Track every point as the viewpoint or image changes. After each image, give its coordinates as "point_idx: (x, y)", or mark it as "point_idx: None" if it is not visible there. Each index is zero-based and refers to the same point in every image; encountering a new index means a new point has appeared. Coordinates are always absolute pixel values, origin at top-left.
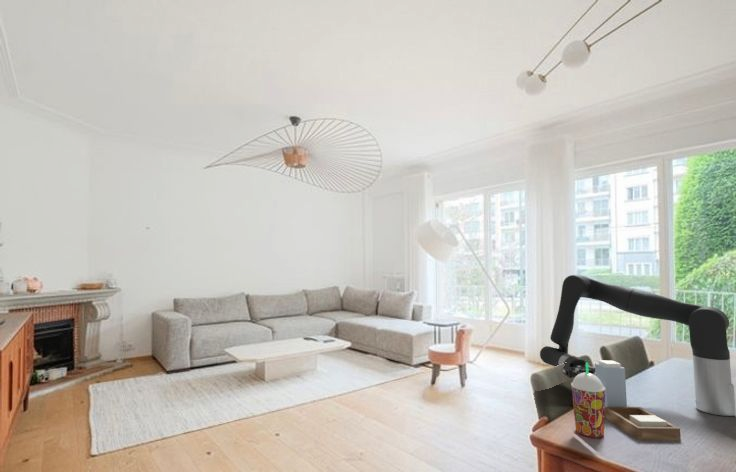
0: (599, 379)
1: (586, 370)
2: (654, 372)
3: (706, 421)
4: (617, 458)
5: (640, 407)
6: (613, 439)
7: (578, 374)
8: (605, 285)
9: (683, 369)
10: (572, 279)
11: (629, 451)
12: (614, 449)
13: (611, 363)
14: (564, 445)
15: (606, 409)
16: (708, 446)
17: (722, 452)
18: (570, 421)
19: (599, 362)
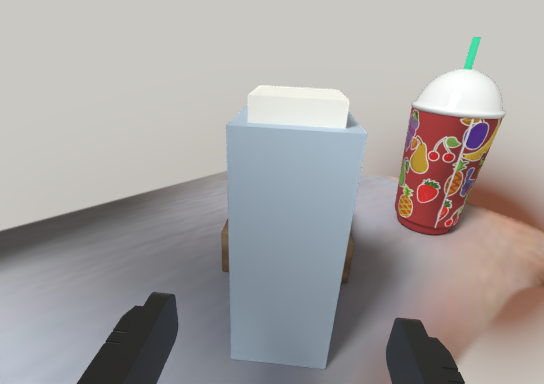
0: (431, 81)
1: (471, 61)
2: None
3: (18, 249)
4: (392, 183)
5: (223, 229)
6: (372, 213)
7: (491, 79)
8: None
9: None
10: None
11: (363, 191)
12: (386, 195)
13: (307, 88)
14: (479, 209)
15: (350, 236)
16: (207, 188)
17: (208, 179)
18: (466, 285)
19: (346, 112)
